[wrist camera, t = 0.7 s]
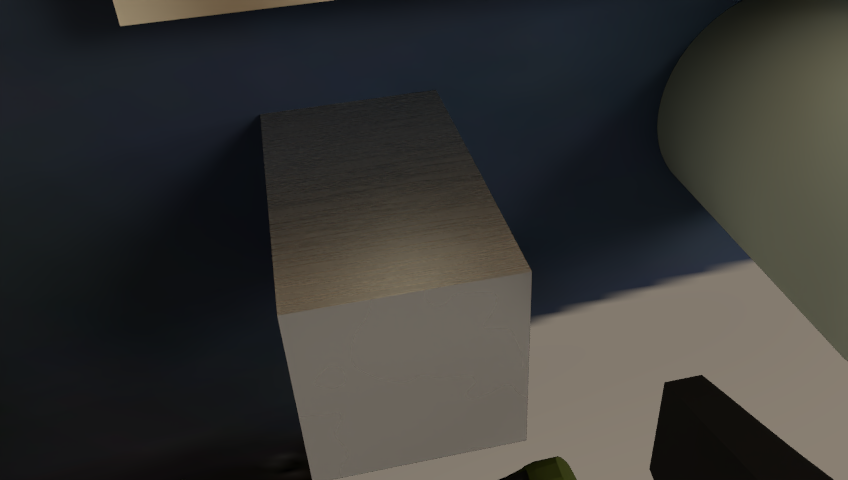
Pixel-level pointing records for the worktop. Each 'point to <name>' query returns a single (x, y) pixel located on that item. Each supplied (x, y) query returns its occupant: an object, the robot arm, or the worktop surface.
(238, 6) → the socket board
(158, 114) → the worktop surface
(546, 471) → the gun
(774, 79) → the round peg
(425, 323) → the square peg
